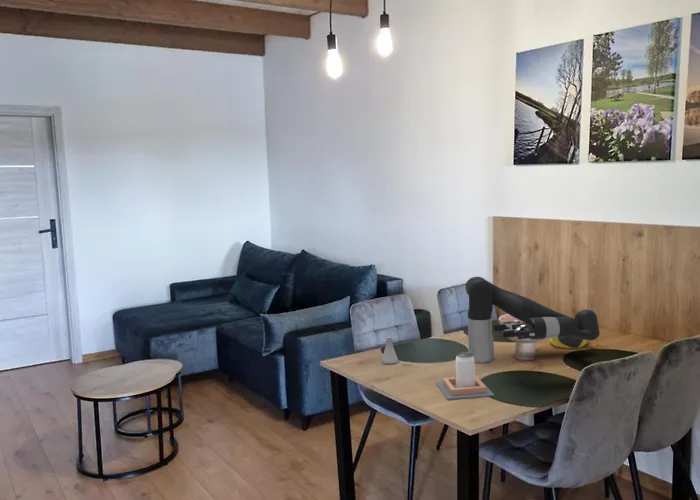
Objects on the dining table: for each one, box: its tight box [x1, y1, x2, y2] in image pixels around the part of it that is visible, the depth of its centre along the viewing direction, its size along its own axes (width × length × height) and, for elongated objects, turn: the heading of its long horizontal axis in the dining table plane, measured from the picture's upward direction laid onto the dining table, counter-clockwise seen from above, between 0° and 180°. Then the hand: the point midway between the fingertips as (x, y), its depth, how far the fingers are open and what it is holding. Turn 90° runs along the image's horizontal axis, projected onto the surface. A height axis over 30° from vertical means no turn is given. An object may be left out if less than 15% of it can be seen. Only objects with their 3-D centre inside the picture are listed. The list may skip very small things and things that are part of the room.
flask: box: [380, 336, 400, 365], centre depth 245 cm, size 7×7×10 cm
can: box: [455, 351, 476, 388], centre depth 210 cm, size 6×6×12 cm
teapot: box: [548, 337, 589, 350], centre depth 257 cm, size 17×17×12 cm
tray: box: [435, 375, 495, 401], centre depth 210 cm, size 16×16×3 cm
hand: (498, 331), depth 208 cm, fingers open, 8 cm apart
